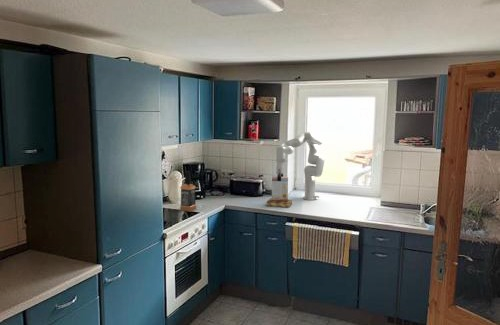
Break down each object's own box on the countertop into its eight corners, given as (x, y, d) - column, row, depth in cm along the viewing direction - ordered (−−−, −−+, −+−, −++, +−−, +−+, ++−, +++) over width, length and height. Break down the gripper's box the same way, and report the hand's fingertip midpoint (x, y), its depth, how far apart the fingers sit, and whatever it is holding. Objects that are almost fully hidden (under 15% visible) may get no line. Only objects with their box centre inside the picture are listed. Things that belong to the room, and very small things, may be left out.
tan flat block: (292, 204, 330) (292, 199, 329) (289, 207, 316) (289, 203, 316) (270, 202, 335) (270, 198, 335) (266, 205, 322) (266, 201, 321)
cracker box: (287, 200, 328) (288, 176, 325) (287, 201, 322) (288, 177, 319) (272, 199, 329) (272, 176, 327) (271, 200, 323) (272, 177, 321)
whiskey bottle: (179, 210, 303) (179, 171, 299) (186, 207, 312) (186, 170, 308) (190, 211, 299) (190, 172, 295) (196, 209, 308) (196, 171, 304)
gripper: (278, 159, 330) (278, 178, 332) (274, 161, 314) (273, 181, 316) (286, 159, 328) (286, 178, 330) (282, 162, 312) (282, 182, 314)
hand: (280, 180), depth 323 cm, fingers open, 9 cm apart
